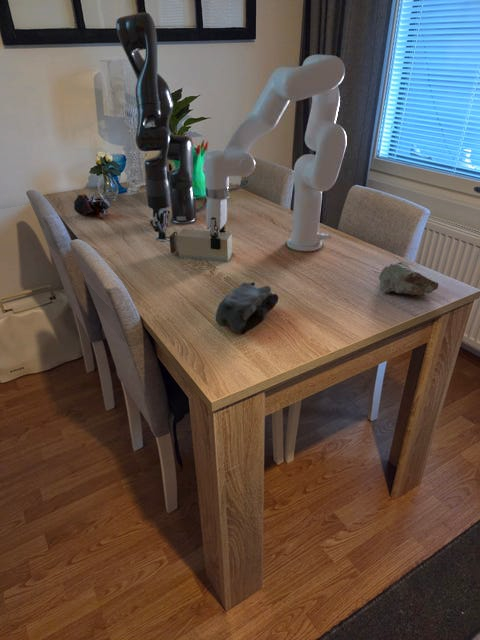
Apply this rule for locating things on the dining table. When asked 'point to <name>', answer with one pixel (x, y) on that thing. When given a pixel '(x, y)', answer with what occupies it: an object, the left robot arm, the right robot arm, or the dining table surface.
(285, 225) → the dining table surface
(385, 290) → the artifact
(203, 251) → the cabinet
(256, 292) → the rock
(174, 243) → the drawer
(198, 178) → the toy
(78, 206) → the toy
